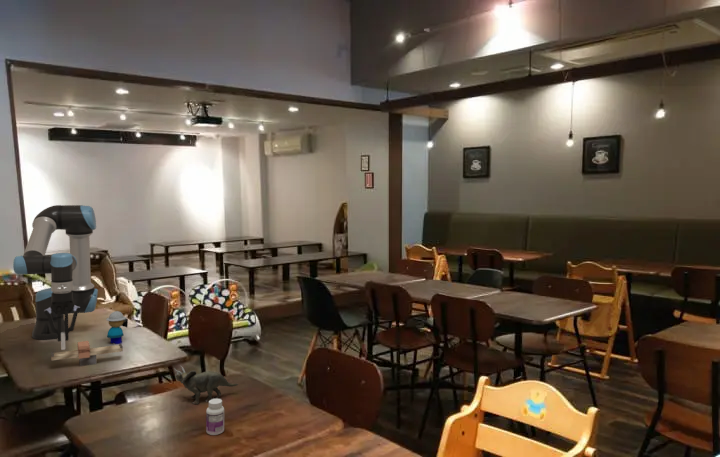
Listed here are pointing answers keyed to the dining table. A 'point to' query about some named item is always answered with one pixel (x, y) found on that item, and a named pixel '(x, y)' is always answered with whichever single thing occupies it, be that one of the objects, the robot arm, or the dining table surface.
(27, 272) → the robot arm
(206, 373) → the dinosaur figurine
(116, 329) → the toy
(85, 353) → the pink block
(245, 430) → the dining table surface
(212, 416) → the pill bottle
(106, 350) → the beam
